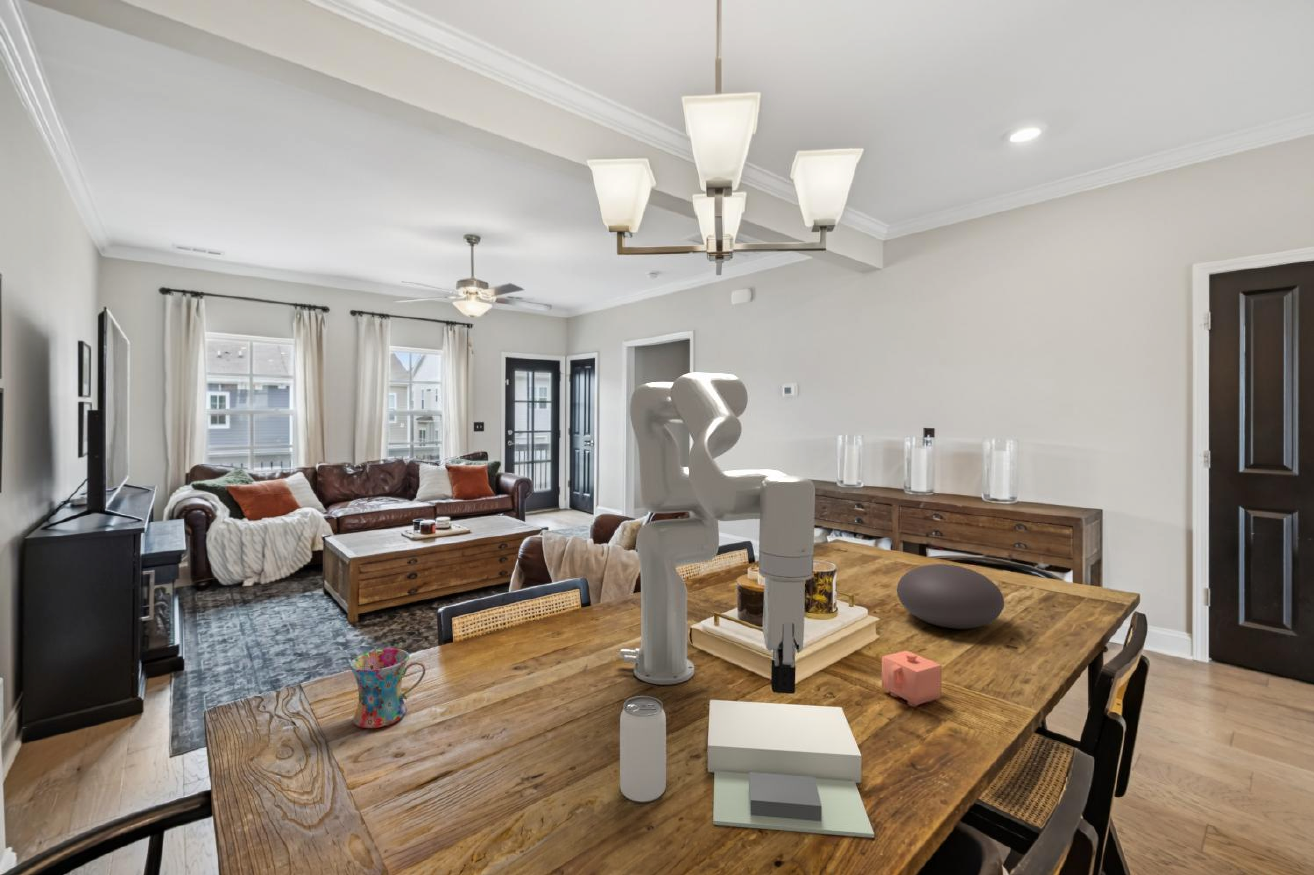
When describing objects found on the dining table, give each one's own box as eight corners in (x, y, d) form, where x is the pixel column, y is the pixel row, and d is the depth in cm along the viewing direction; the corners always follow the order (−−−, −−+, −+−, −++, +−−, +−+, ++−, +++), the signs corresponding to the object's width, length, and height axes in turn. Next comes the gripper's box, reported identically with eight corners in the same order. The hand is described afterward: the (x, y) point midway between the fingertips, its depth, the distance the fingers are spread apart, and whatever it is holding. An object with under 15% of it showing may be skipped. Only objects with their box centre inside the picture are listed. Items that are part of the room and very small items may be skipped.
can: (619, 776, 83) (619, 695, 83) (663, 773, 84) (663, 693, 84) (620, 805, 77) (620, 718, 77) (668, 802, 77) (668, 716, 77)
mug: (345, 737, 93) (344, 673, 93) (356, 710, 102) (355, 652, 102) (424, 725, 97) (423, 664, 97) (427, 700, 106) (427, 643, 106)
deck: (707, 771, 84) (707, 745, 84) (710, 722, 98) (710, 699, 98) (861, 783, 82) (861, 755, 82) (841, 730, 96) (841, 707, 95)
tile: (749, 772, 80) (749, 786, 80) (750, 799, 74) (750, 815, 74) (814, 777, 79) (814, 791, 79) (821, 805, 73) (821, 821, 73)
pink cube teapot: (952, 699, 107) (953, 655, 107) (908, 713, 101) (908, 667, 101) (917, 682, 114) (917, 641, 114) (873, 694, 108) (874, 652, 108)
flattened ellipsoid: (1004, 618, 151) (1005, 562, 150) (1002, 650, 130) (1003, 585, 129) (904, 602, 164) (905, 551, 164) (888, 629, 143) (888, 570, 142)
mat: (713, 824, 73) (713, 820, 73) (714, 774, 84) (714, 771, 84) (874, 837, 71) (874, 833, 71) (854, 784, 81) (854, 781, 81)
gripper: (755, 549, 88) (753, 665, 89) (762, 577, 73) (759, 716, 74) (805, 551, 87) (802, 668, 88) (822, 580, 72) (818, 720, 73)
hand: (782, 690), depth 81 cm, fingers closed
